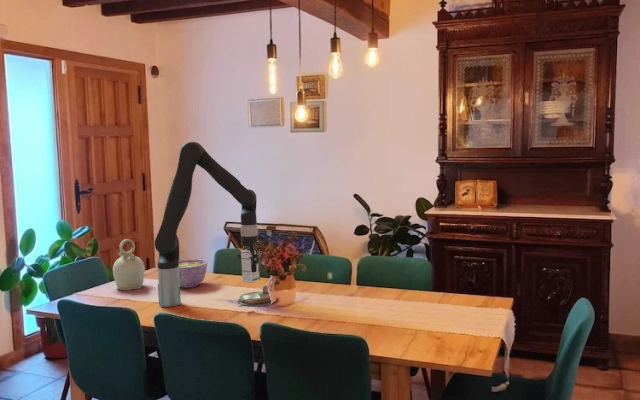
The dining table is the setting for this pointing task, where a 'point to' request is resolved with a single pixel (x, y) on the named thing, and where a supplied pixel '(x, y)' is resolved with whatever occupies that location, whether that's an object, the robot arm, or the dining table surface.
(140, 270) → the jug
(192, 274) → the bowl of food
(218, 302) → the dining table surface
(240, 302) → the base plate
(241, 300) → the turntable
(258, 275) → the syrup box
